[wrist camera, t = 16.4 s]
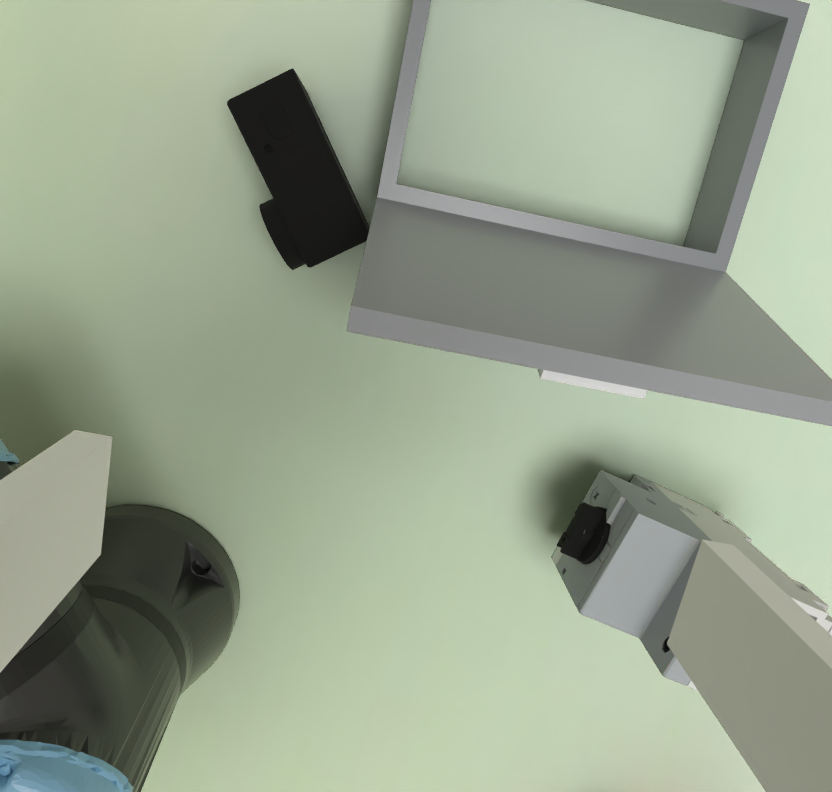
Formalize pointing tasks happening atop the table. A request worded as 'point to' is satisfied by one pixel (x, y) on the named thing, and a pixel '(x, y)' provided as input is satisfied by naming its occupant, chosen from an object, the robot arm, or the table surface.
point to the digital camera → (298, 173)
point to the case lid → (578, 313)
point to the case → (731, 155)
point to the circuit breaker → (650, 561)
